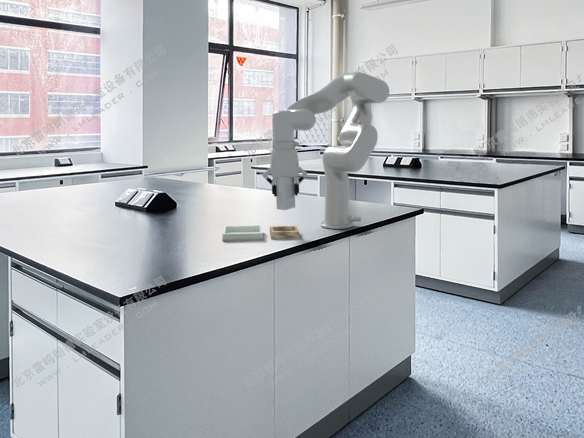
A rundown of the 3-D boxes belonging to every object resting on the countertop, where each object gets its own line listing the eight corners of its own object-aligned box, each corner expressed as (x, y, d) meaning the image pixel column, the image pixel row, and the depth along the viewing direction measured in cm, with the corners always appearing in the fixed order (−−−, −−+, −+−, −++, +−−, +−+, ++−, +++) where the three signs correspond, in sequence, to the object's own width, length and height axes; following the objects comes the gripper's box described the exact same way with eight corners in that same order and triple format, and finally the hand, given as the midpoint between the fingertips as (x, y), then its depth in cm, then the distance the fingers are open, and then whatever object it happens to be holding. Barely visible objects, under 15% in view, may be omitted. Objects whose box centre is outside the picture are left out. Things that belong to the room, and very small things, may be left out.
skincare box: (286, 206, 196) (286, 174, 193) (295, 207, 193) (295, 175, 191) (275, 209, 191) (275, 176, 189) (284, 210, 189) (284, 177, 186)
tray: (261, 231, 200) (261, 225, 199) (262, 240, 186) (262, 233, 186) (224, 232, 198) (223, 226, 198) (222, 241, 185) (222, 234, 184)
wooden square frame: (296, 232, 199) (296, 225, 198) (299, 238, 189) (299, 231, 189) (269, 232, 198) (269, 226, 198) (271, 238, 188) (270, 231, 188)
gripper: (307, 144, 192) (308, 192, 196) (259, 146, 191) (261, 194, 194) (309, 145, 185) (310, 196, 188) (259, 147, 183) (262, 198, 187)
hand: (285, 195), depth 191 cm, fingers closed on skincare box, 7 cm apart
